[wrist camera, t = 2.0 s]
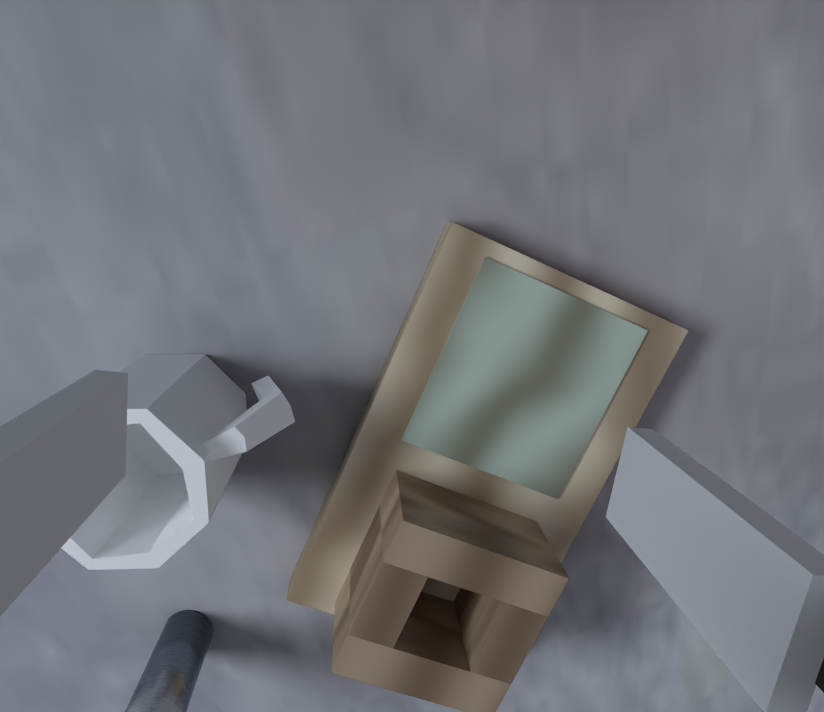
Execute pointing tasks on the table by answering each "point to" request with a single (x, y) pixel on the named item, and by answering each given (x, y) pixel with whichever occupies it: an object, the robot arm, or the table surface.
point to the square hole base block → (476, 471)
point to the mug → (175, 459)
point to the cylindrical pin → (173, 665)
